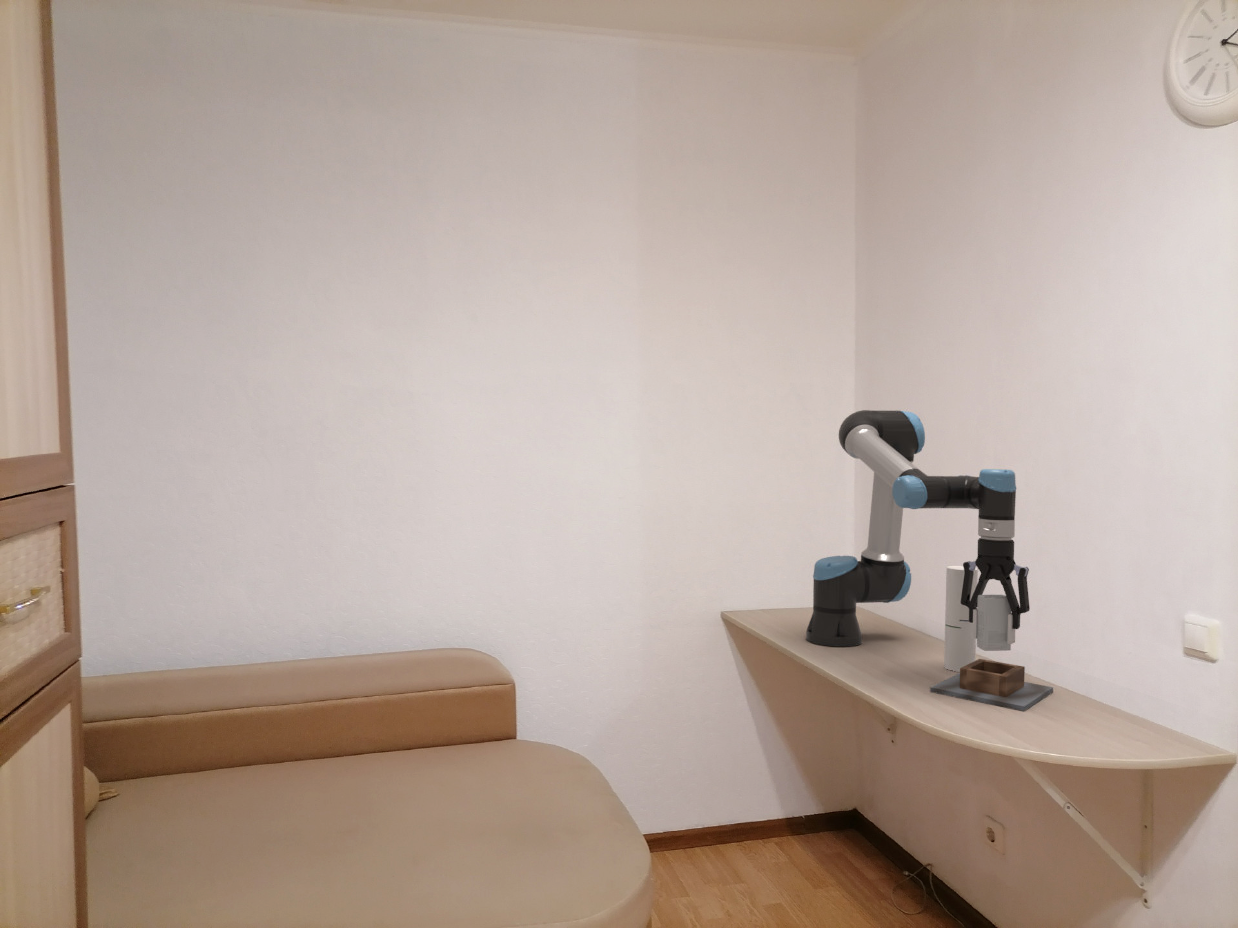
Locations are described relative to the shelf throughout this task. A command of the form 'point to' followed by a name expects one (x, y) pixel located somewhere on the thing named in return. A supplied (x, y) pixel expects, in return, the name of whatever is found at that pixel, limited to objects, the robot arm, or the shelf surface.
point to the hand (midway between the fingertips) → (993, 640)
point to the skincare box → (992, 622)
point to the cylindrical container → (958, 622)
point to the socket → (993, 685)
